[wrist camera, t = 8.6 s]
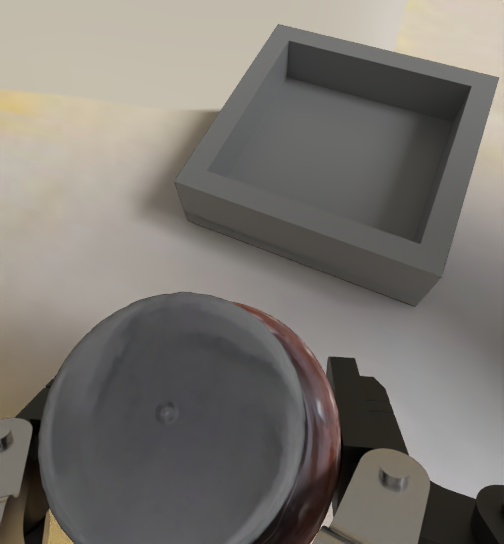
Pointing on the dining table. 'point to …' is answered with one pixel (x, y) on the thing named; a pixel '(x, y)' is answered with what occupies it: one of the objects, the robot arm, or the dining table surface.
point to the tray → (342, 160)
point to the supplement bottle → (190, 429)
